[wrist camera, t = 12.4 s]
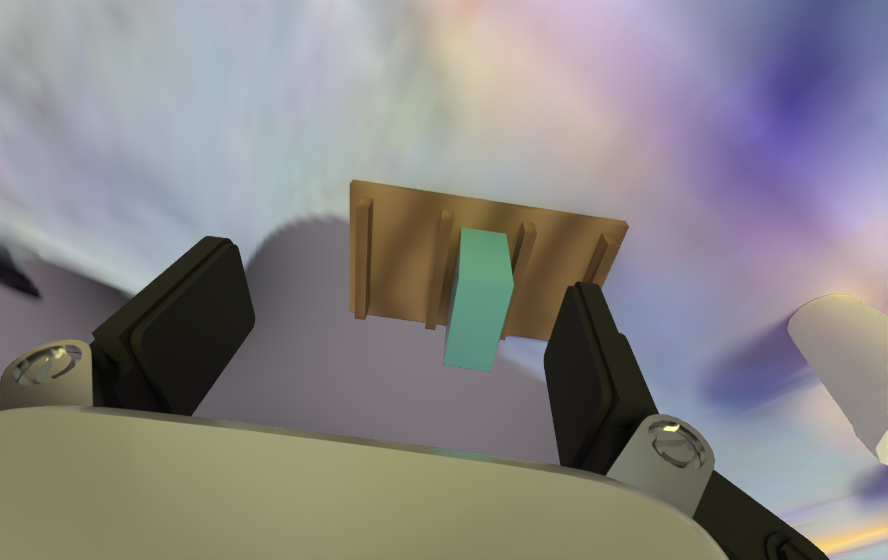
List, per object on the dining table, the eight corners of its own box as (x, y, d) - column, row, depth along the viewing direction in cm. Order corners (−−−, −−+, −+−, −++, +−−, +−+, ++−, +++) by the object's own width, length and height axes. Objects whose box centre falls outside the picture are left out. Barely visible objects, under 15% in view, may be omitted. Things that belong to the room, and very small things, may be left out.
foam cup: (887, 328, 40) (1042, 446, 29) (784, 365, 43) (888, 483, 32) (870, 263, 36) (1041, 371, 25) (758, 310, 39) (866, 423, 29)
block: (506, 233, 35) (514, 285, 28) (487, 312, 40) (490, 371, 34) (461, 227, 35) (458, 277, 28) (448, 306, 40) (443, 365, 33)
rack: (625, 221, 35) (636, 237, 32) (574, 338, 43) (580, 358, 40) (353, 179, 34) (343, 192, 32) (352, 306, 42) (344, 324, 40)
